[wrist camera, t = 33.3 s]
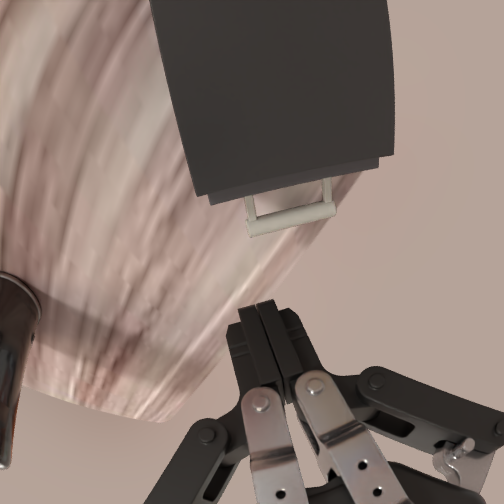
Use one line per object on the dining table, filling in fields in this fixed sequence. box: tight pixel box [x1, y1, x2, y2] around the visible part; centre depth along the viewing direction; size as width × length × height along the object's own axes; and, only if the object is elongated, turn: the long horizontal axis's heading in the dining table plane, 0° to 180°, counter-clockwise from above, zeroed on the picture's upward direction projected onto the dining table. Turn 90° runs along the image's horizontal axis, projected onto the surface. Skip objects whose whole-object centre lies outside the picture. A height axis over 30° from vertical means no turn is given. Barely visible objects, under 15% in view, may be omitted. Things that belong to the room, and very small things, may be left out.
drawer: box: [208, 157, 379, 238], centre depth 19 cm, size 18×11×8 cm, turn 8°
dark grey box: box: [149, 0, 395, 197], centre depth 16 cm, size 15×13×10 cm
